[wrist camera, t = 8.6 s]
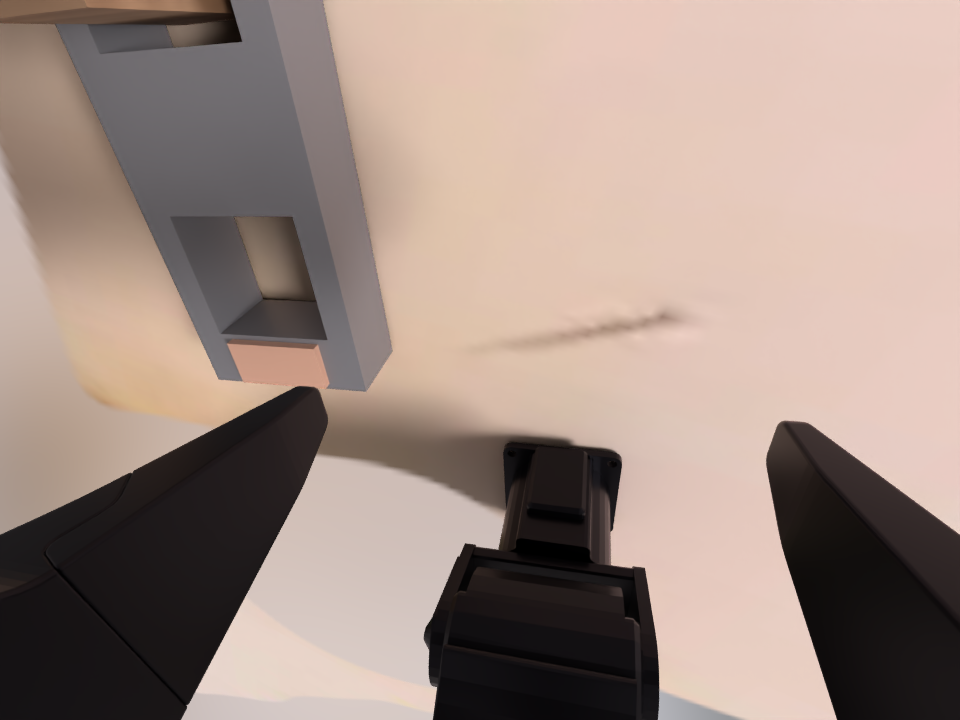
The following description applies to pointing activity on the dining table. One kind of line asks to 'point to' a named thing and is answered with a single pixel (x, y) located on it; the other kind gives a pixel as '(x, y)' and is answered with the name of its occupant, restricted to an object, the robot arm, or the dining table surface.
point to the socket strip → (246, 185)
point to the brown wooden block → (115, 11)
